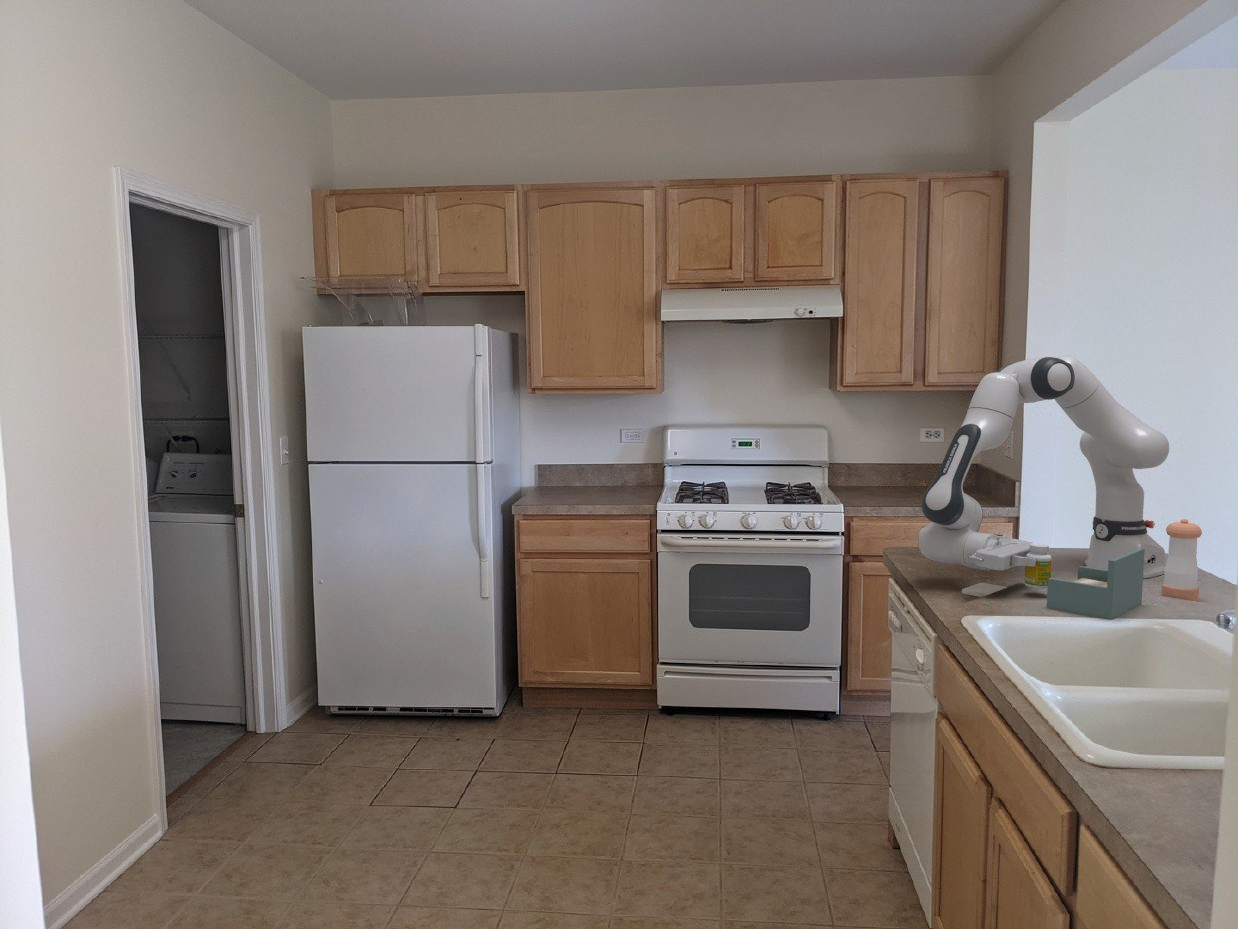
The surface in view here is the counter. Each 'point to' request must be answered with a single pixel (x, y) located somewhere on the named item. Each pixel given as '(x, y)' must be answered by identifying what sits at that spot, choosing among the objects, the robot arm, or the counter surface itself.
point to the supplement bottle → (1038, 567)
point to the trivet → (982, 589)
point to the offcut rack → (1101, 588)
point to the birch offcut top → (1091, 582)
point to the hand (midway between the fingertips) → (1042, 560)
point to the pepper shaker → (1182, 561)
